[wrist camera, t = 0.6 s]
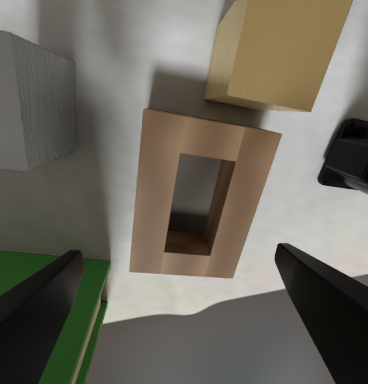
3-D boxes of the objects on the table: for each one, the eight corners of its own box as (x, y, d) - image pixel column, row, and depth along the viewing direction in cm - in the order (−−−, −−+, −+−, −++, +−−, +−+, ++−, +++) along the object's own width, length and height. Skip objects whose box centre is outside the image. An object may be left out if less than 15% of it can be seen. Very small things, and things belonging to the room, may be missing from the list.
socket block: (258, 128, 18) (282, 134, 15) (222, 251, 24) (232, 278, 20) (148, 108, 17) (143, 109, 13) (135, 244, 22) (129, 271, 19)
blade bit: (74, 62, 15) (10, 32, 9) (77, 148, 18) (27, 171, 11) (39, 55, 15) (-55, 18, 9) (46, 143, 17) (-23, 165, 11)
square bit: (277, 42, 16) (353, 0, 10) (258, 109, 18) (310, 112, 11) (217, 27, 15) (255, -30, 9) (203, 99, 17) (226, 95, 11)
